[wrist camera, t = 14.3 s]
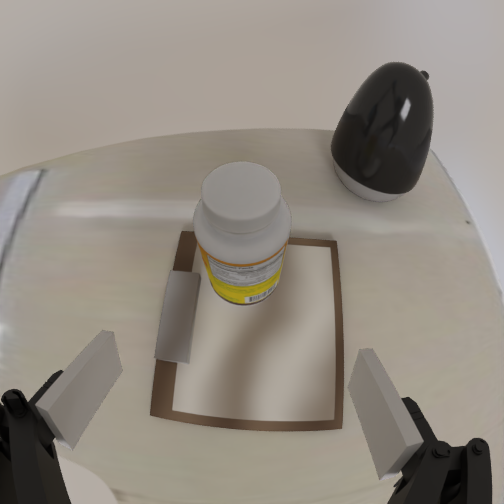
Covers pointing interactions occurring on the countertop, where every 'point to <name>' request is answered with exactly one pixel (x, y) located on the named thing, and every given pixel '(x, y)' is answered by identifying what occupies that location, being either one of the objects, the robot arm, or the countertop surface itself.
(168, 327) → the clipboard
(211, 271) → the supplement bottle
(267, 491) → the countertop surface
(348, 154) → the pump dispenser
